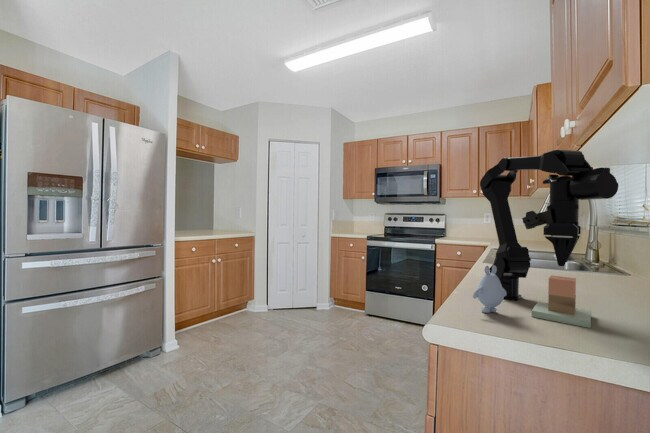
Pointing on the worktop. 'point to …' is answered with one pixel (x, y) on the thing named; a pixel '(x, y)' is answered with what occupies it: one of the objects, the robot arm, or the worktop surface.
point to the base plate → (563, 315)
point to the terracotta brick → (562, 286)
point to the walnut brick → (562, 304)
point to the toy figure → (490, 291)
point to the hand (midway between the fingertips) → (562, 264)
